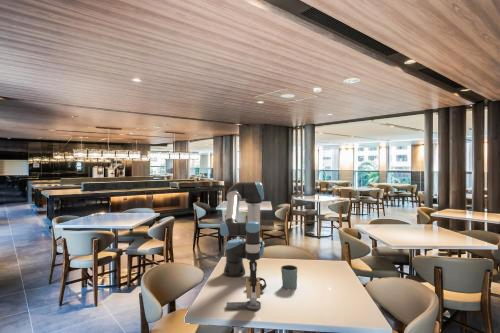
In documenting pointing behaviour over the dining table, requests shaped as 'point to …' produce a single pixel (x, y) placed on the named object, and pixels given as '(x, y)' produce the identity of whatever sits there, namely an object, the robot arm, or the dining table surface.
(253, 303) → the grey handled bowl
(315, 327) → the dining table surface
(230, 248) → the robot arm
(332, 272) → the dining table surface
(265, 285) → the ring-shaped clay flask
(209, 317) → the dining table surface
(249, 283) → the hollow square tube
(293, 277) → the grey green cup
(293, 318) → the dining table surface
